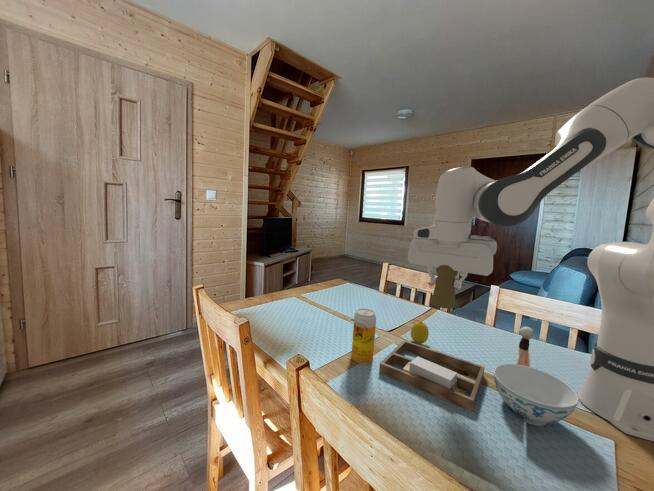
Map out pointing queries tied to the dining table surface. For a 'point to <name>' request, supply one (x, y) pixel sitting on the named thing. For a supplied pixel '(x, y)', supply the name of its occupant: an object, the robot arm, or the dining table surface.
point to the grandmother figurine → (524, 346)
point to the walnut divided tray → (428, 385)
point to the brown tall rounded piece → (444, 288)
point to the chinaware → (534, 394)
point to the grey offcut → (433, 372)
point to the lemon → (419, 332)
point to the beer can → (363, 336)
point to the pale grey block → (425, 378)
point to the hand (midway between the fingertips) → (445, 285)
